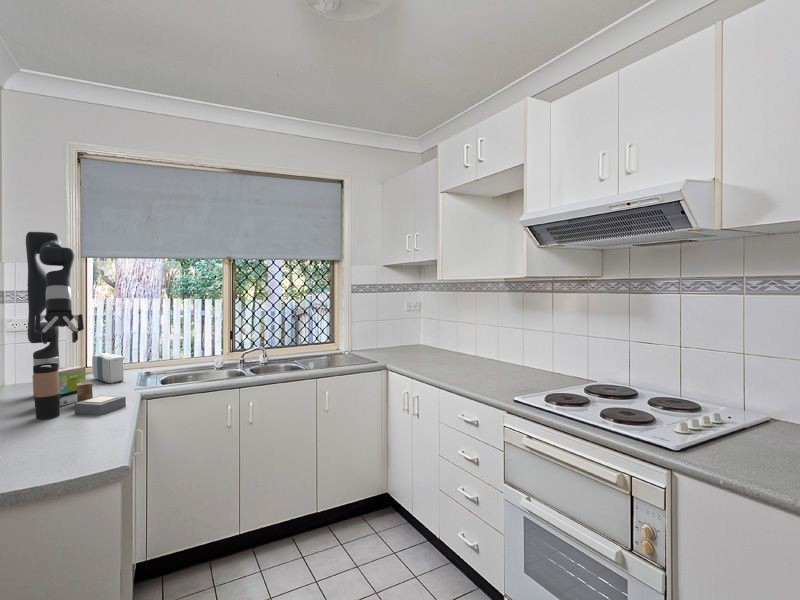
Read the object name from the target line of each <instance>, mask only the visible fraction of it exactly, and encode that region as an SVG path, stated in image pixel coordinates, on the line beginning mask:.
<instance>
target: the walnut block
mask: <svg viewBox="0 0 800 600" xmlns="http://www.w3.org/2000/svg"><path fill="white" fill-rule="evenodd" d="M91 398H94V397H93V383H92V381H86V382H83V383H77V402H81V401H84V400H87V399H91Z"/></svg>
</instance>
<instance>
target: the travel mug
mask: <svg viewBox="0 0 800 600" xmlns="http://www.w3.org/2000/svg"><path fill="white" fill-rule="evenodd" d="M32 371H33V372H32V373H33V375H32V376H33V378H32V381H33V380H34V396H33V399H34V408H35V410H34V411H35V419H36V420H37V419H38V421H40V420H41V421H45V420H44V419H46V420H52V419H55V418H58V417H59V416H60V415H61V413H60V412H61V406H60V391H59V374H58V364H57V363H47V364H39V365H35V366H34V365H33V366H32ZM51 418H52V419H51Z"/></svg>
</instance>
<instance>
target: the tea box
mask: <svg viewBox="0 0 800 600" xmlns="http://www.w3.org/2000/svg"><path fill="white" fill-rule="evenodd" d="M58 374H59V391H60V407H61V406H66V405H68V404H69V405H70V404H75V403H77V402H78V401H77V383H83V382H87V380H86V379H87V378H86V366H77V365H76V366H74V365H73V366H71V365H67V366H66V365H65V366H60V368H58Z"/></svg>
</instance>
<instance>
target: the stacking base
mask: <svg viewBox="0 0 800 600" xmlns="http://www.w3.org/2000/svg"><path fill="white" fill-rule="evenodd" d="M126 398H127V397H126V396H120V395H118V396H117V395H103V394H101V395H98V396H95V397H93V398H91V399H87V400H84V401H81V402H78V401H77V402H74V414H76V413H77V414H79V415H91V416H92V415H94V416H95V415H96V416H103V415H105V414H108V413H110V412H113V411H116V410H120V409H123V408H125V407H127V404H126V403H127V401H126Z"/></svg>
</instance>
